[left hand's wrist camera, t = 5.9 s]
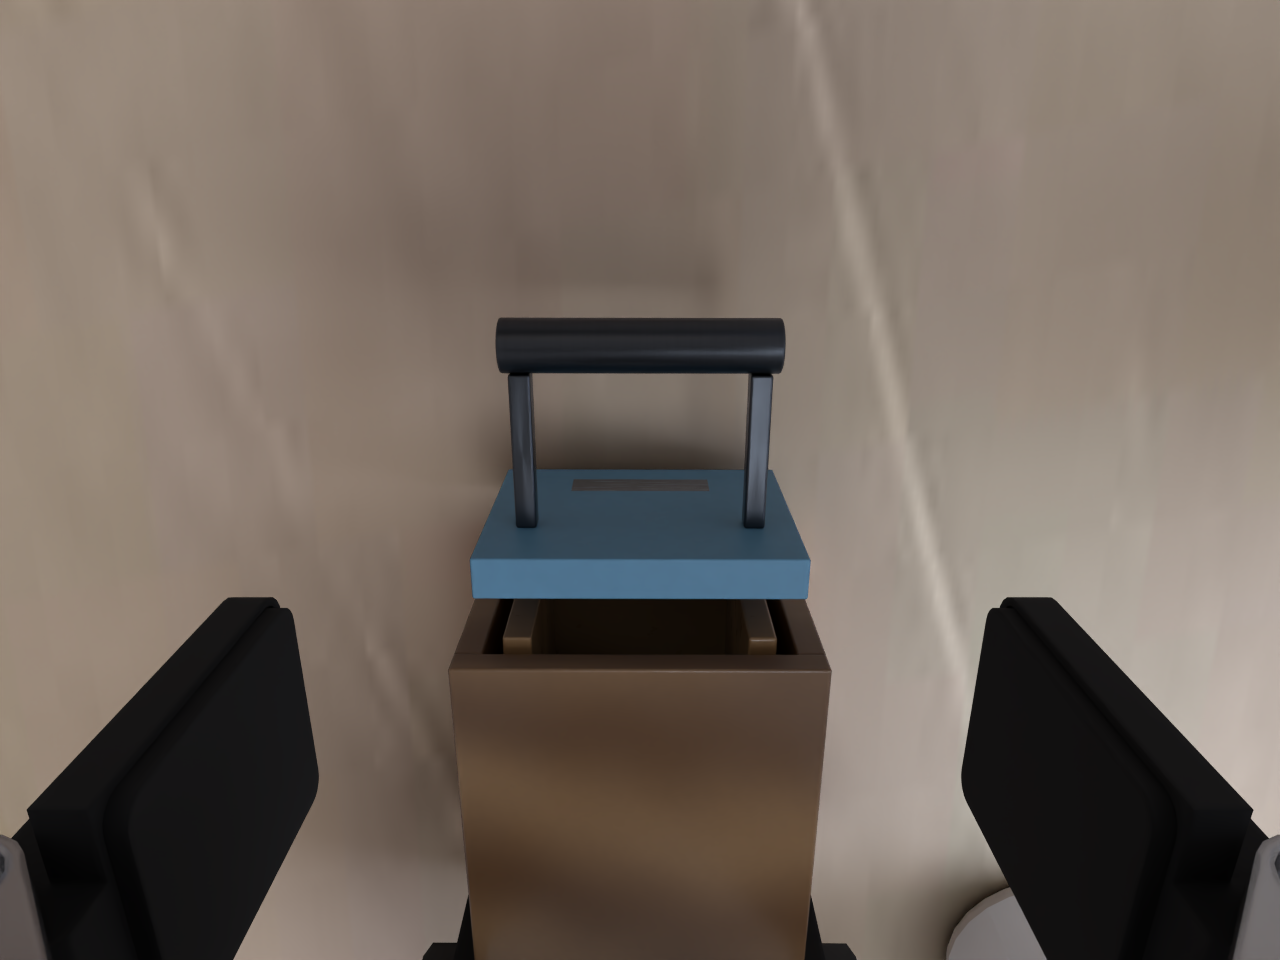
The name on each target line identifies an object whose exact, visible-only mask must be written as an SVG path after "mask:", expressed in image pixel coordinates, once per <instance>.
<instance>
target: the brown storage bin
mask: <svg viewBox="0 0 1280 960" xmlns="http://www.w3.org/2000/svg"><path fill="white" fill-rule="evenodd" d="M513 601H514V599H490V598H476V599H475V601H474V604H473V606H472V609H471V612H470V614H469V617H468V620H467V622H466V625H465V627H464V630H463V633H462V635H461V638H460V641H459V643H458V646H457V649H456V651H455V655H454V656H453V659H452V662H451V664H450V667H449V670H448V673H449V684H450V695H451V706H452V717H453V728H454V739H455V750H456V761H457V772H458V783H459V794H460V805H461V816H462V827H463V838H464V849H465V860H466V871H467V882H468V893H469V904H470V915H471V926H472V937H473V948H474V959H475V960H804V959H805V949H806V938H807V927H808V917H809V906H810V896H811V885H812V874H813V864H814V853H815V843H816V832H817V821H818V811H819V800H820V790H821V779H822V768H823V758H824V747H825V737H826V726H827V715H828V705H829V694H830V684H831V673H832V671H831V668H830V665H829V663H828V660H827V657H826V654H825V652H824V649H823V646H822V644H821V641H820V638H819V635H818V633H817V630H816V627H815V625H814V622H813V619H812V617H811V614H810V611H809V609H808V606H807V603H806V601H805V599H766V602H767V606H768V609H769V613H770V616H771V620H772V623H773V627H774V630H775V634H776V637H777V648H776V655H611V654H504V651H503V636H504V632H505V629H506V625H507V622H508V618H509V615H510V612H511V608H512V605H513Z"/></svg>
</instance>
